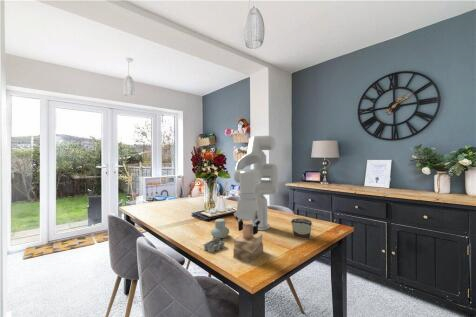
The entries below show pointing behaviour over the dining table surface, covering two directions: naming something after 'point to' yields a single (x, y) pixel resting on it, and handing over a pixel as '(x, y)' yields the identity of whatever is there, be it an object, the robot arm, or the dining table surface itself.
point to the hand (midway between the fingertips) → (248, 231)
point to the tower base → (248, 254)
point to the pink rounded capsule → (247, 231)
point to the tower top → (248, 243)
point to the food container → (301, 228)
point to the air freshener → (220, 229)
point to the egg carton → (211, 245)
